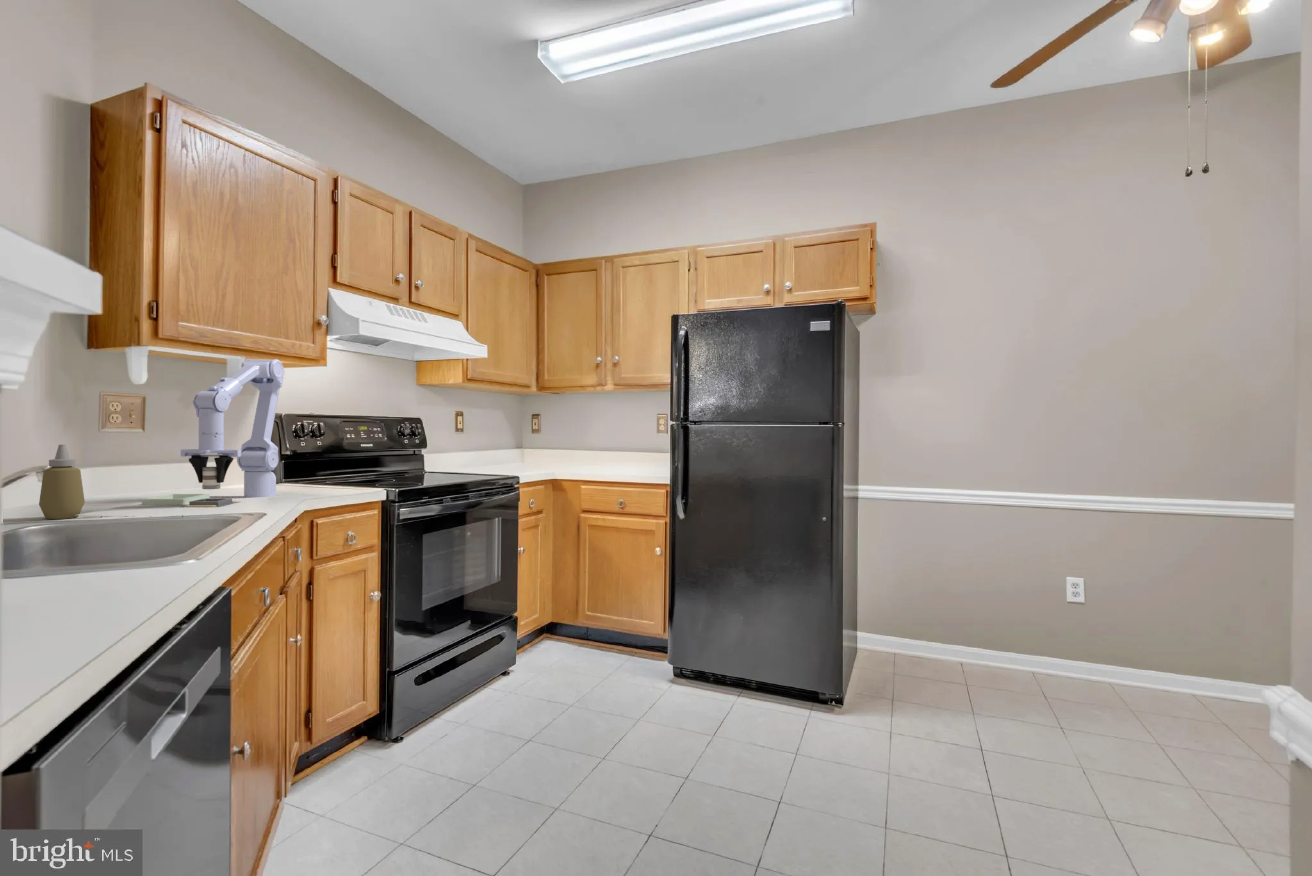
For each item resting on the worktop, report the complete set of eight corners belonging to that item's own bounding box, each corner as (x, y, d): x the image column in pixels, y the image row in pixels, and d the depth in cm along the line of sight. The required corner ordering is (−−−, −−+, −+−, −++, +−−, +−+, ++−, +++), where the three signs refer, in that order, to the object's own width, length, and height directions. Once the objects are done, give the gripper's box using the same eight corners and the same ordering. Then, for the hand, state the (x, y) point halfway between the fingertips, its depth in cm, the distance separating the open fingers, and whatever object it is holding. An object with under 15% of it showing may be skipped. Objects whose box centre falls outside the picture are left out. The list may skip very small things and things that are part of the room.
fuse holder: (203, 505, 177) (203, 497, 177) (241, 505, 179) (241, 497, 179) (178, 510, 165) (178, 502, 165) (218, 510, 167) (218, 502, 167)
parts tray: (171, 502, 182) (171, 493, 182) (209, 502, 184) (209, 493, 183) (141, 508, 169) (141, 499, 169) (182, 508, 170) (182, 499, 170)
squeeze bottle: (32, 521, 145) (31, 445, 145) (48, 516, 153) (48, 444, 152) (76, 519, 149) (76, 445, 148) (90, 514, 156) (90, 444, 156)
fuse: (207, 487, 174) (207, 466, 174) (223, 487, 174) (223, 466, 174) (199, 489, 170) (198, 467, 170) (215, 489, 170) (215, 467, 170)
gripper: (173, 433, 167) (173, 483, 167) (232, 434, 169) (231, 484, 169) (189, 433, 174) (189, 481, 174) (245, 434, 176) (245, 481, 176)
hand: (211, 482), depth 172 cm, fingers closed on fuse, 4 cm apart
